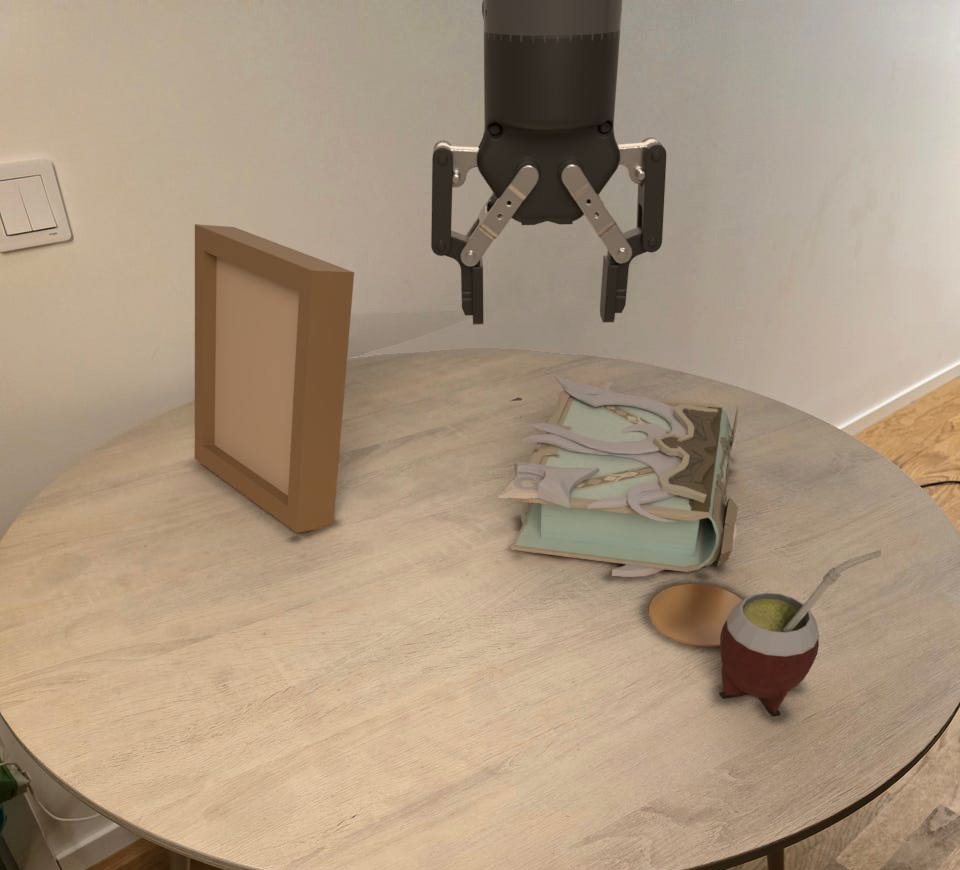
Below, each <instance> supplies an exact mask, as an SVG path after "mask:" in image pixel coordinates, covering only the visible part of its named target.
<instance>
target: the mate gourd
mask: <svg viewBox="0 0 960 870" xmlns="http://www.w3.org/2000/svg"><path fill="white" fill-rule="evenodd" d="M881 555H882V550H881V549H880V550H876V551H873V552H869V553H866V554H863V555H859V556H857V557H853V558H850V559H848V560H846V561H844V562H842V563H840V564H838V565H837V566H835V567H831V568H830V569H829V570H828V571H827V572H826V573H825V575H823V577H822V581H821V582H820V583H819V584H818V586H817V587H816V588H815V590H814V591H813V592H812V594H811V595H809V597H808V598H807V600H806V601H805V602H804V603H803V602H801V601H799V600H798V599H796V598H795V597H793V596H790V595H786V594H782V593H775V592H761V593H754V594H752V595H750V596H748V597H745V598H743V599H742V601H741V602H739V603H738V604H737V605H736V606H735V607H734V608H733V609H732V611H731V612H730V614H729V615H728V617H727V620H726V622H725V624H724V625H723V628H722V631H721V635H720V647H719V648H720V650H719V651H720V662H721V681H722V686H723V691H720V692H718V693H719V696H720V698H721V699H723V700H726V699H733V698H739V697H744V696H753V697H756V698H757V699H758V700H759V701H760V703H761V704H762V705H763V707H764V708H765V709H766V711H767V712H768V714H769V715H770V716H771V717H774V718H775V717H780V716H781V712H780V711H779V708H780V706H781V704H782V703H783V701H784V700H785V698H786V696H787V694H788V692H789V691H791V690H793V689H794V688H796V687H797V686H799V685H800V684H801V683H802V682H803V681H804V680H805V678H806V677H807V675H808V674H809V672H810V670H811V668H812V666H813V665H814V663H815V661H816V658H817V656H818V654H819V653H818V652H819V647H820V640H819V638H820V631H819V627H818V623H817V620H816V618H815V616H814V614H813V612H811V609H812V607H813V606H814V605H815V604H816V603H817V602H818V600H819V599H820V597H821V596H822V595H823V594H824V593H825V591H827V589H828V588H829V586H832V585H833V584H834V583H835V582H836V581H837V580H838V579H839V578H840V577H841V574H842V573H843V572H846V571H847V570H849V569H850V568H853V567H855V566H858V565H861V564H862V563H863V564H864V563H865V562H868V561H870V560H873V559H876V558H879V557H880V556H881Z"/></svg>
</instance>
